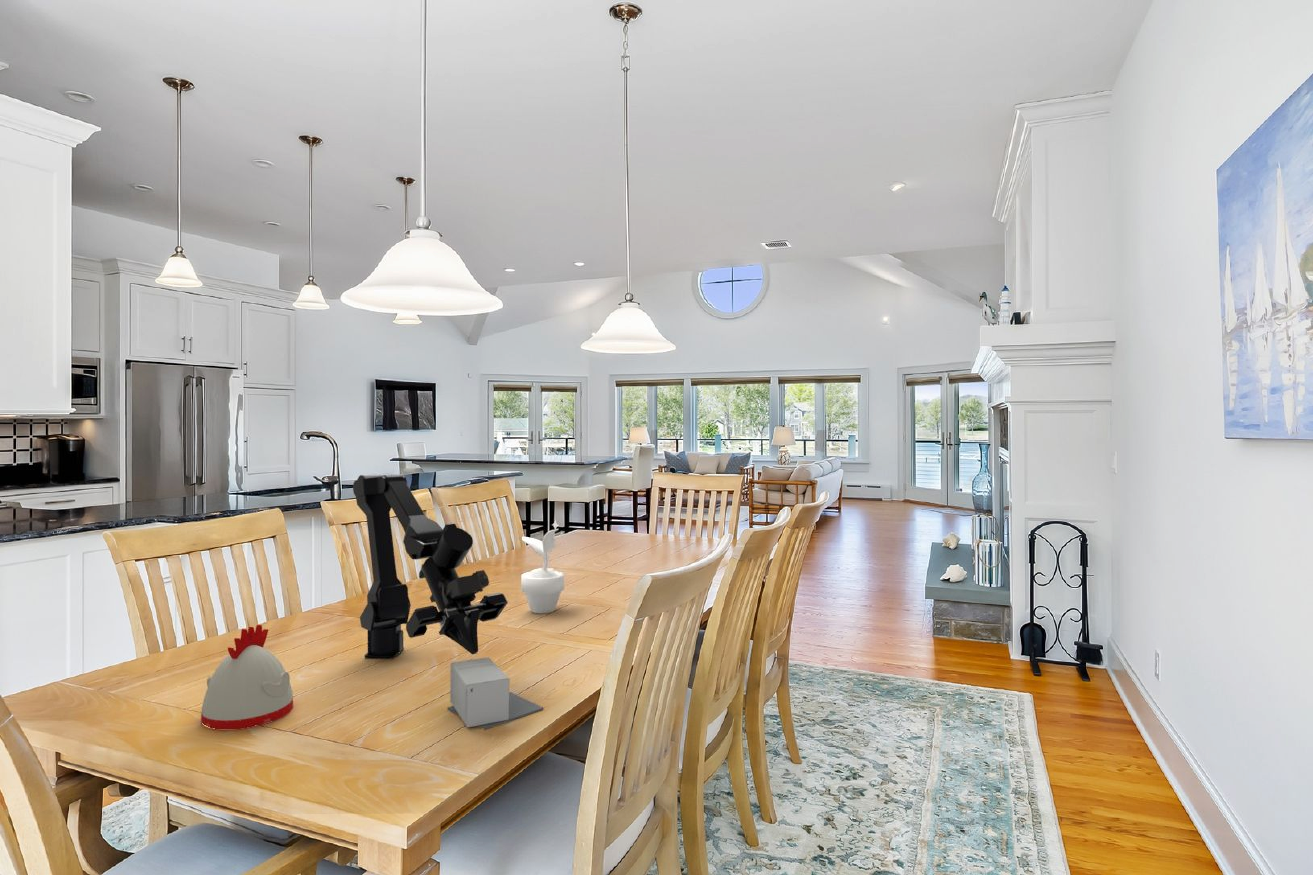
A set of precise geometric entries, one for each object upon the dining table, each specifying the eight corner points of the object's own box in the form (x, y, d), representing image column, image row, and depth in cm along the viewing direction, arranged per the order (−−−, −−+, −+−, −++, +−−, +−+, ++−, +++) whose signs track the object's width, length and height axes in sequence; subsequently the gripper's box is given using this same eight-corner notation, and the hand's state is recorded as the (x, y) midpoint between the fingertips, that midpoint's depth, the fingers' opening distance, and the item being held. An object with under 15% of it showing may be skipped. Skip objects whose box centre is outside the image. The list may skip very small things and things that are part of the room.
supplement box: (449, 702, 130) (465, 728, 119) (449, 661, 130) (465, 683, 118) (490, 696, 133) (509, 721, 122) (490, 656, 133) (510, 677, 122)
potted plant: (573, 609, 196) (573, 517, 195) (544, 619, 186) (544, 522, 185) (538, 602, 202) (538, 514, 202) (508, 611, 193) (508, 518, 192)
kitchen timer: (310, 702, 131) (309, 619, 130) (251, 734, 117) (251, 642, 117) (245, 695, 134) (244, 614, 134) (181, 725, 120) (180, 636, 120)
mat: (447, 709, 127) (447, 707, 127) (504, 691, 136) (504, 689, 136) (484, 729, 119) (484, 727, 119) (543, 709, 128) (543, 707, 128)
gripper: (413, 564, 129) (445, 639, 121) (502, 551, 142) (535, 618, 135) (393, 600, 134) (422, 674, 127) (480, 584, 148) (511, 650, 140)
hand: (475, 652), depth 132 cm, fingers closed
